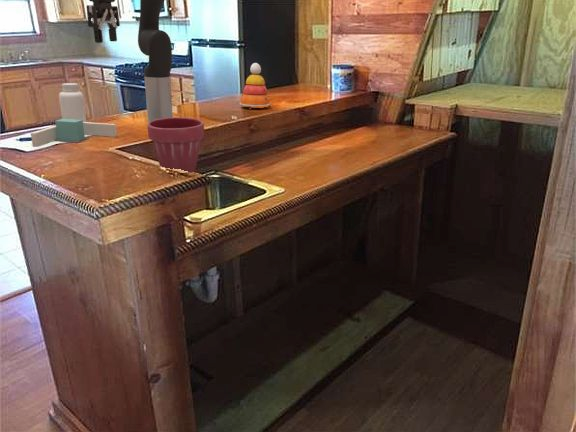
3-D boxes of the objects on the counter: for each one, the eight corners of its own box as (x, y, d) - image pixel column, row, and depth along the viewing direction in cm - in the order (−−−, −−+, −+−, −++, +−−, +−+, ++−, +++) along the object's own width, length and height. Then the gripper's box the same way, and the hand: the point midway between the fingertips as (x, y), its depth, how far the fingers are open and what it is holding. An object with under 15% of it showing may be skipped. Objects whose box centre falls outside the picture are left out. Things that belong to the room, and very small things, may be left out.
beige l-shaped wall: (71, 132, 171) (69, 120, 170) (117, 135, 169) (115, 124, 167) (32, 146, 153) (30, 133, 152) (83, 150, 150) (81, 137, 149)
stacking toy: (265, 111, 219) (265, 65, 212) (234, 109, 223) (234, 63, 215) (274, 106, 232) (275, 62, 225) (245, 104, 236) (245, 61, 228)
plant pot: (163, 181, 125) (160, 130, 120) (142, 167, 136) (138, 120, 131) (214, 172, 133) (213, 124, 128) (191, 160, 144) (189, 115, 139)
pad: (65, 136, 166) (65, 135, 166) (89, 138, 164) (88, 137, 164) (53, 140, 160) (53, 140, 160) (77, 142, 159) (77, 142, 159)
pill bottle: (86, 123, 185) (81, 82, 180) (87, 128, 178) (81, 85, 173) (63, 124, 182) (57, 82, 177) (62, 129, 176) (56, 85, 170)
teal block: (57, 139, 161) (55, 120, 159) (65, 136, 165) (62, 118, 162) (77, 141, 160) (75, 122, 157) (84, 138, 163) (82, 119, 161)
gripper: (101, -15, 157) (107, 40, 163) (75, -18, 144) (82, 42, 150) (123, -14, 155) (128, 41, 161) (99, -17, 142) (105, 43, 148)
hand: (106, 42), depth 155 cm, fingers open, 8 cm apart
